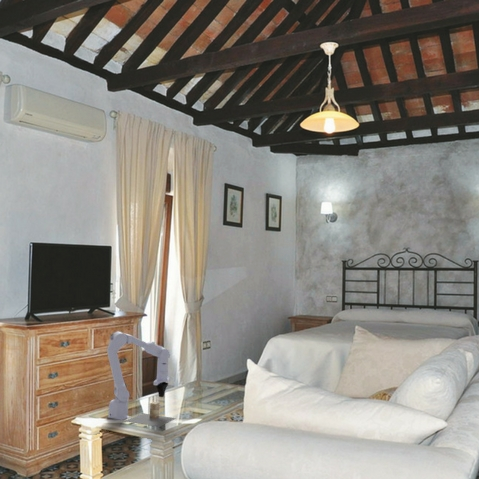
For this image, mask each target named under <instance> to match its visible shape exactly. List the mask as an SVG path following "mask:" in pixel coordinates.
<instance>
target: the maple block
mask: <svg viewBox="0 0 479 479" xmlns="http://www.w3.org/2000/svg"><path fill="white" fill-rule="evenodd" d="M160 406H161V404H160V402H159V401H153V402H150V403H149V414H150V417H151V418H157V417H159V416H160Z"/></svg>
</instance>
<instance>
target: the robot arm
mask: <svg viewBox="0 0 479 479" xmlns="http://www.w3.org/2000/svg"><path fill="white" fill-rule="evenodd" d="M126 344H127V345H129V344H133V345H136V346H138V347H141V348H143V349H144V352H145V353H147V354H149V355H152V356H154V357H157V362H156V363H157V364H156V366H157V367H156V379H155V380H154V381H153V386H155V387H156V390H157V393H158V397H160V398H163V397H165V393H166V390H167V387H168V386H169V382H170V381H171V377H170V376H168V375H169V373H168V372H169V358H170V357H171V354H170V353H171V352H170V350H169V349H166V348H165V347H163V345H159V344H156V342H154V341H148V342H146V341H143V340H142V339H140V338H138V337H135V336H134V335H131V334H128V333H126V332H122V331H119V330H117V331H114V332H113V334H112V335H111V336H110V338H109V341H108V345H107V349H106V352H107V357H108V361H109V366H110V369H111V373H112V374H111V375H112V379H113V383H114V384H113V386H114V390H113V394H114V396H115V397H114V399H111V400H110V401H109V404H108V416H107V418H108V419H115V420H122V421H125V420H126V419H128V418H129V419H130V418H132V416H131V415H129V398H130V391H129V390H128V389H127V386H126V384H125V380H124V377H123V372H122V367H121V363H120V359H119V356H118V352H119V351H120V349H121V348H122V347H123V346H125V345H126Z"/></svg>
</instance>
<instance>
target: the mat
mask: <svg viewBox="0 0 479 479" xmlns="http://www.w3.org/2000/svg"><path fill="white" fill-rule="evenodd" d="M176 419H177V418H176V417H171V416H170V417H169V416H165V415H159V417H157V418H151V417H150V413H140V414H138V415H136V416H133V417H130V418H129V419H128V418H127V420H126V419H125V420H124V422H125V423H126V422H127V423H133V424H140V425H144V426H152V427H157V428H158V427H159V428H160V427H162V426H164V425H165V424H167V423H170V422H171V421H174V420H176Z"/></svg>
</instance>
